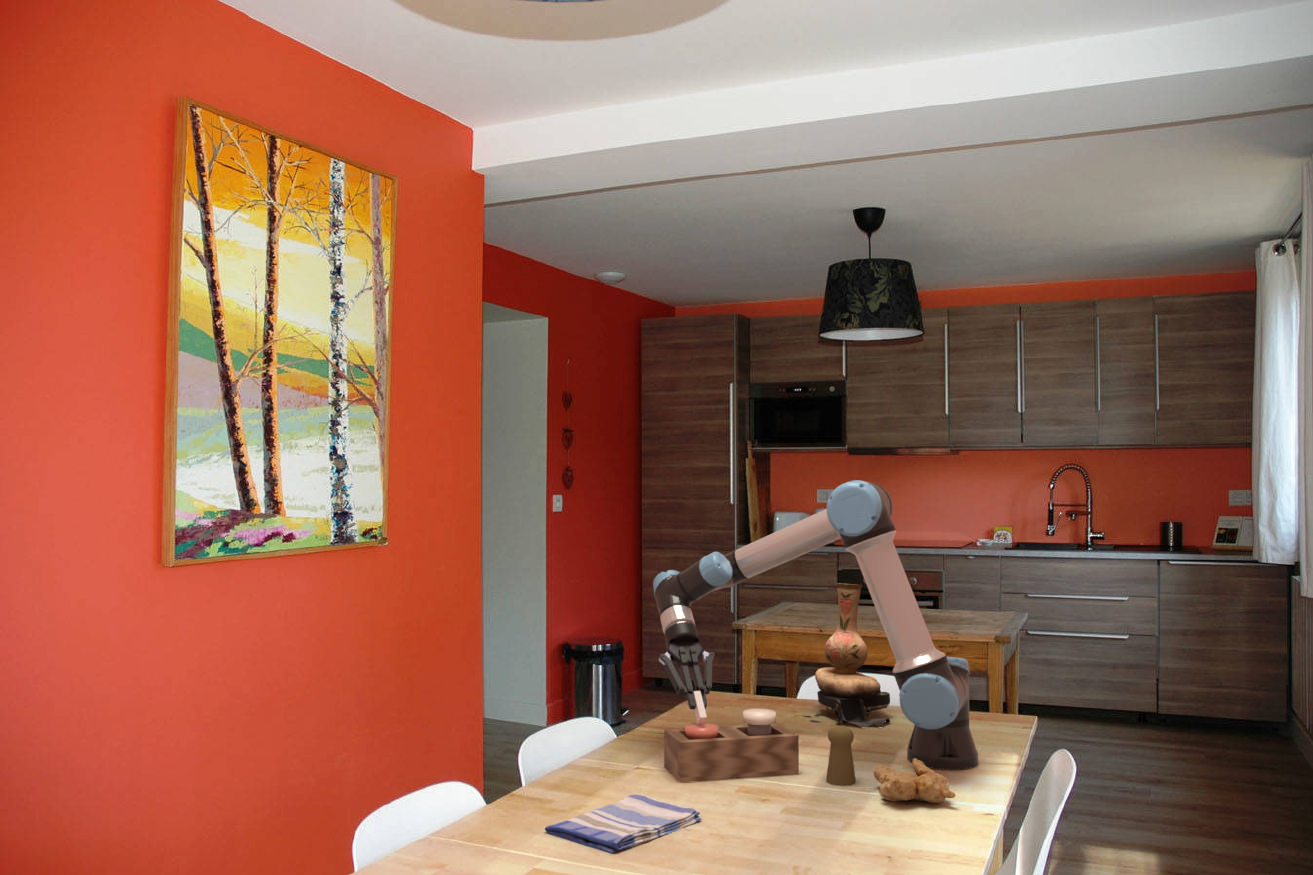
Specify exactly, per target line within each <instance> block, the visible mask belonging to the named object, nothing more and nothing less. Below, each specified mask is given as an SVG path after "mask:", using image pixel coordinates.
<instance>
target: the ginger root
mask: <svg viewBox="0 0 1313 875" xmlns="http://www.w3.org/2000/svg"><path fill="white" fill-rule="evenodd" d="M912 764H913V765H912V766H913V771H914V773H912V772H909V771H899V770H898V771H897V770H895V769H894V768H892V767H890V766H887V765H884V764H883V765H881V764H877V765H875V767H874V770H873V777H874V779H875V780H876V781H877V782H879V783H880V784H881V785H880V786H879V794H880V797H882V798H883V799H885V800H886V801H890V802H899V801H900V802H901V801H910V800H911V799H912V801H913V800H914V801H919V800H920V801H926V802H928V803H933V804H943V803H944V800H946V799H953V798H955V797H956V793H955V792H954V791H951V790H950V783H949V782H948V779H947V777H945V776H944V775H942V774H940V773H936V772H935V771H934V770H933V769H932V768H929V767H926V765H924V763H923V761H920V760H917V758H916V759H915V758H914V759H913V763H912Z"/></svg>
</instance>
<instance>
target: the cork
mask: <svg viewBox="0 0 1313 875" xmlns="http://www.w3.org/2000/svg"><path fill="white" fill-rule="evenodd" d="M827 736H828V737H827V738H828V740H829V742H830V748H829V756H828V764H827V771H826V778H825V779H826V780H825V782H826V783H827V782H828V784H829V783H830V785H834V786H839V785H840V787H843V786H845V787H846V785H849V786H853V784H854V785H855V784H856V783H857V782H856V781H857V780H856V775H855V774H856V772H855V764H854V757H853V750H852V744H853V742H854V739H855V737H854V736H855V735H854V732H853V730H852V729H851V728H850V727H847V726H842V725H840V726H838V725H837V726H832V727H830V728H829V730H828V732H827Z"/></svg>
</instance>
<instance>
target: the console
mask: <svg viewBox="0 0 1313 875" xmlns="http://www.w3.org/2000/svg"><path fill="white" fill-rule="evenodd" d="M717 726H718V725H717ZM663 733H664V734H663V737H664V739H663V740H664V741H663V742H664V743H663V755H664V756H663V757H664V758H663V768H664V769H665V770H667V772H668V773H669V774H670V775H671V776H673V777H674V778H675V779H676V780H677V781H678V782H679V781H680V782H684V783H690V782H689V781H698V782H707V781H708V782H710V781H723V780H725V781H726V780H735V779H738V780H739V779H750V778H762V777H763V778H764V777H779V776H780V777H781V776H795V775H799V771H800V769H799V767H800V766H799V765H800V764H799V760H800V758H799V755H800V754H799V747H800V746H799V745H800V743H799V734H796V733H795V732H793V731H791V730H789V728H787V727H784V726H783V725H781V724H779V723H777V722H776V723H774V724H771V735H762V736H748V724H739V725H724V726H723V725H721V726H718V738H712V739H695V740H690V739H689V738H686V737H685V727H684V728H668V729H664V732H663ZM680 782H679V783H680Z"/></svg>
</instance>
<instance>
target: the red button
mask: <svg viewBox="0 0 1313 875" xmlns="http://www.w3.org/2000/svg"><path fill="white" fill-rule="evenodd" d="M684 728H685V737H686V738H689V739H690V740H695V739H712V738H718V725H717V724H715V723H709V722H708V723H707V722H705V723H704V724H700V725H697V722H692V723H689V724H686V725H685V726H684Z"/></svg>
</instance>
